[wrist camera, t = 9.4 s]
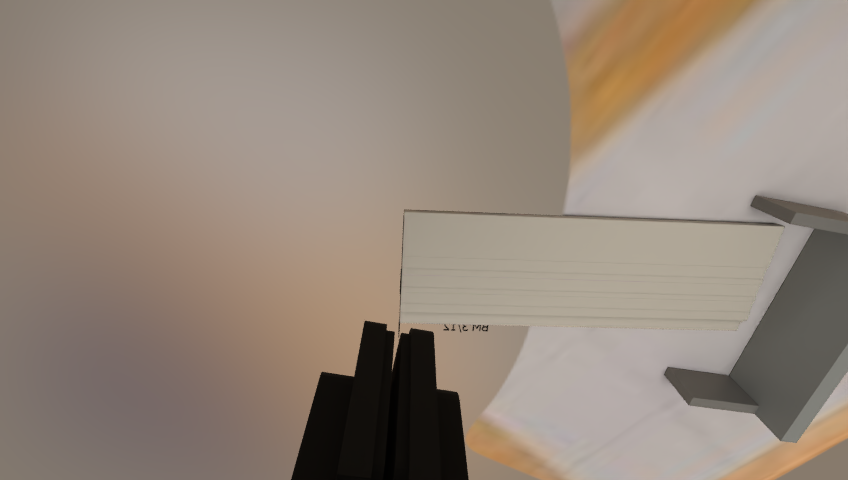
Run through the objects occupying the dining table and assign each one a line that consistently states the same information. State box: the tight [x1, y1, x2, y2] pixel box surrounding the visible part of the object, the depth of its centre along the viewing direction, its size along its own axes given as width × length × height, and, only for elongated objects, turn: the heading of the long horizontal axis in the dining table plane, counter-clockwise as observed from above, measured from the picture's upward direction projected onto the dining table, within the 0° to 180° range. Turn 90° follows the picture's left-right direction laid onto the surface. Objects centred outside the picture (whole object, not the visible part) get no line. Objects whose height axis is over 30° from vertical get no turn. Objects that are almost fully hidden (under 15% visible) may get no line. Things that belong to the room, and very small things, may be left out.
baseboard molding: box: [399, 210, 785, 332], centre depth 37 cm, size 31×3×12 cm
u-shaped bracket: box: [664, 196, 848, 443], centre depth 36 cm, size 18×8×7 cm, turn 169°
